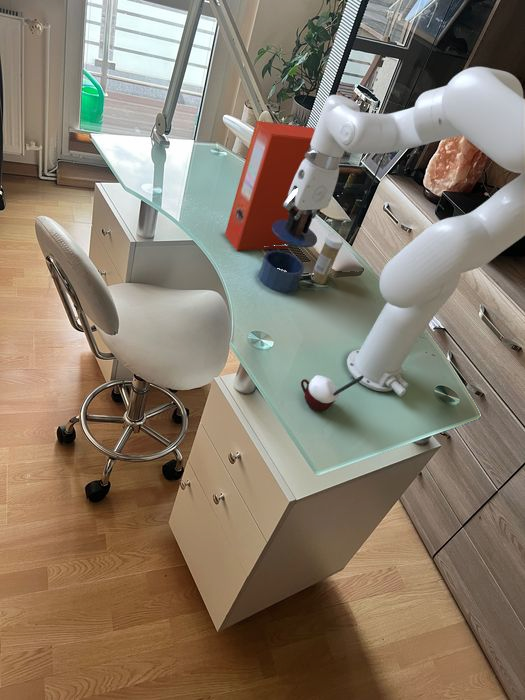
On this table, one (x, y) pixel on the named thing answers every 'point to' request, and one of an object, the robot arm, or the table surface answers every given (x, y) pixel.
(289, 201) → the robot arm
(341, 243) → the sprinkles bottle
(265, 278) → the pot
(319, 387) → the cocoa
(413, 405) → the table surface
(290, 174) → the file binder
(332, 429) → the table surface
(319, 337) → the table surface
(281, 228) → the pot lid
